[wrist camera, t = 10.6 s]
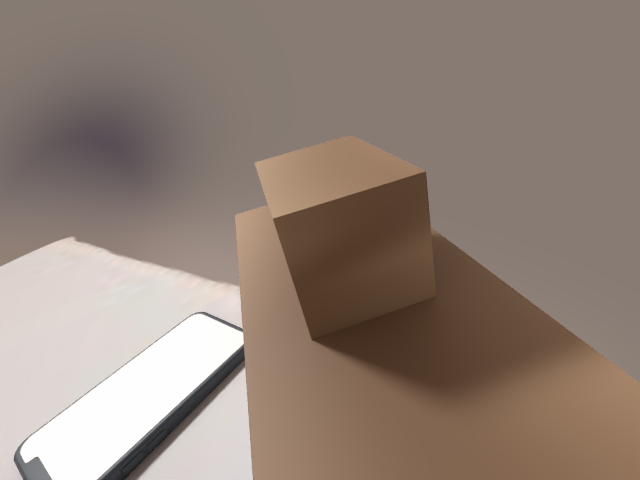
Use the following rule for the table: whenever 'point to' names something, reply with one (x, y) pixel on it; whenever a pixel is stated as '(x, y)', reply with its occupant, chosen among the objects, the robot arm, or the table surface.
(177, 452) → the table surface
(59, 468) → the phone case
